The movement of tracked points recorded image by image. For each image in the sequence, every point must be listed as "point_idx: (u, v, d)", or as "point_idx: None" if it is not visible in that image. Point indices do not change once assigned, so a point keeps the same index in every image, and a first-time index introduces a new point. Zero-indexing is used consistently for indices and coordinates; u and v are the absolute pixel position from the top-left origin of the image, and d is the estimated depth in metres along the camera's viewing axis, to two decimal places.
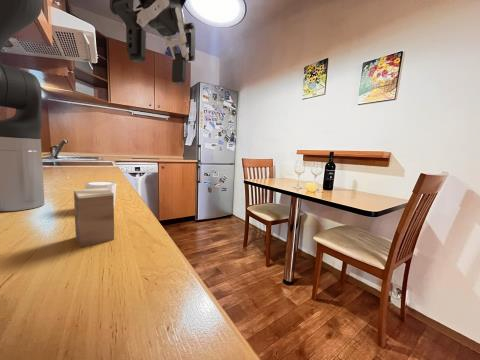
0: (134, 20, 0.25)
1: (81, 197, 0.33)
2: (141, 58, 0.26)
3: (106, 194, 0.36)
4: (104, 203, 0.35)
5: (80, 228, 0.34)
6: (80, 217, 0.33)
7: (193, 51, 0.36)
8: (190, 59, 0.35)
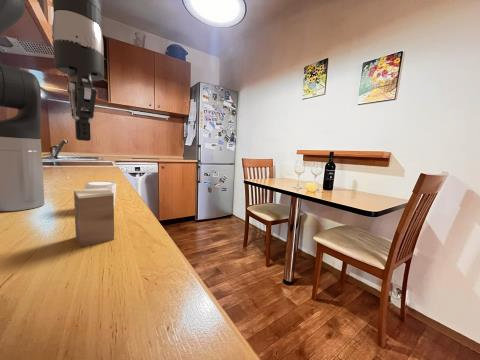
0: (88, 119, 0.40)
1: (81, 197, 0.33)
2: None
3: (106, 194, 0.36)
4: (104, 203, 0.35)
5: (80, 228, 0.34)
6: (80, 217, 0.33)
7: None
8: None
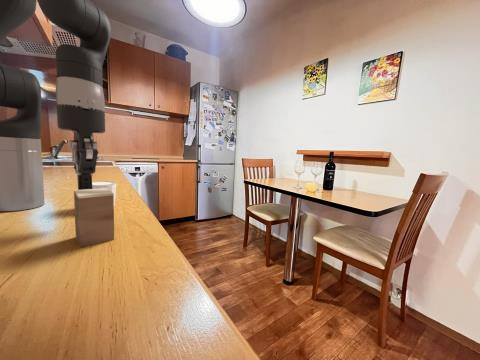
0: (90, 173, 0.41)
1: (81, 197, 0.33)
2: None
3: (106, 194, 0.36)
4: (104, 203, 0.35)
5: (80, 228, 0.34)
6: (80, 217, 0.33)
7: None
8: None
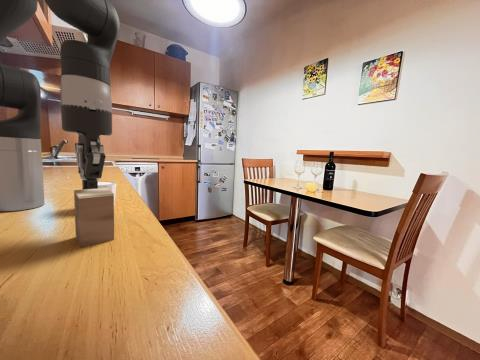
0: (96, 178, 0.38)
1: (81, 197, 0.33)
2: None
3: (106, 194, 0.35)
4: (104, 204, 0.35)
5: (80, 228, 0.34)
6: (80, 217, 0.33)
7: None
8: None
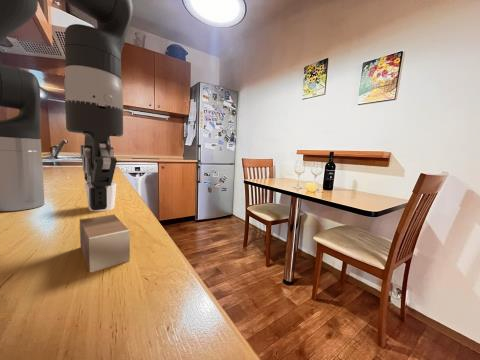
0: None
1: None
2: (105, 207, 0.35)
3: (121, 262, 0.31)
4: None
5: None
6: None
7: None
8: None
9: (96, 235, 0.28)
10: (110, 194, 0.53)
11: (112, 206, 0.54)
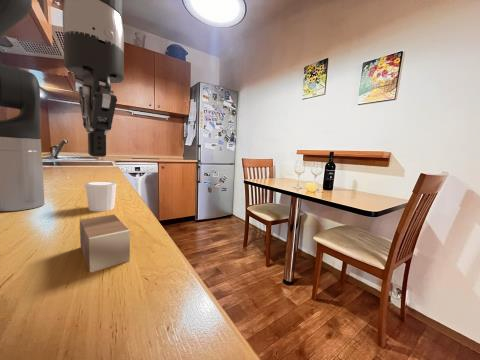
0: (104, 131, 0.32)
1: None
2: (105, 155, 0.34)
3: (121, 262, 0.31)
4: None
5: None
6: None
7: None
8: None
9: (96, 235, 0.28)
10: (110, 194, 0.53)
11: (112, 206, 0.54)
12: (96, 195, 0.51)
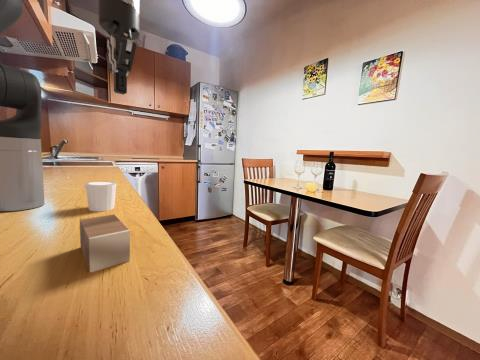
0: (126, 73, 0.44)
1: None
2: None
3: (121, 262, 0.31)
4: None
5: None
6: None
7: None
8: None
9: (96, 235, 0.28)
10: (110, 194, 0.53)
11: (112, 206, 0.54)
12: (96, 195, 0.51)
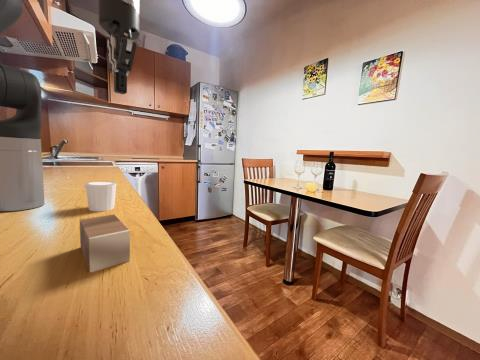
0: (126, 73, 0.44)
1: None
2: None
3: (121, 262, 0.31)
4: None
5: None
6: None
7: None
8: None
9: (96, 235, 0.28)
10: (110, 194, 0.53)
11: (112, 206, 0.54)
12: (96, 195, 0.51)
